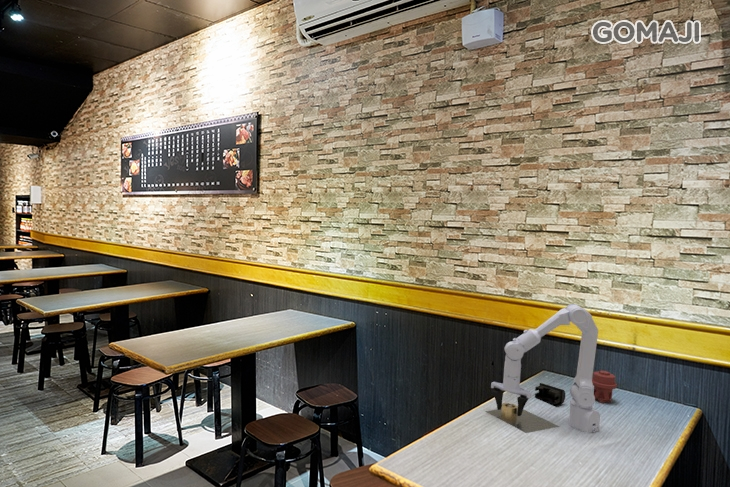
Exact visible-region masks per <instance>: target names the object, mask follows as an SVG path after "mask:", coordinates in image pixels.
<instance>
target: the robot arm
mask: <svg viewBox="0 0 730 487" xmlns="http://www.w3.org/2000/svg"><path fill="white" fill-rule="evenodd" d="M571 323H572V324H573V325H575V326H576V327H577V329H579V331H580V332H581V335H580V344H579V352H578V360H577V368H576V374H575V377H574V378H573V383H572V384H571V385H570V388H569V394H570V396H571V397H572V398H571V400H570V404H569V413H568V414H569V418H568V425H569V426H570V427H571V428H574V429H577V430H579V431H582V432H584V433H586V434H590V433H596V432H599V431H600V423H601V415H600V413H599V411H598V410H596V409H594V404H595V402H596V398H595V396H594V386H593V383H592V378H593V373H594V367H595V359H596V358H595V357H596V351H597V346H598V345H597V344H598V343H597V342H598V335H599V328H598V327H597V325H596V323H595V321H594V319H593V315H592V314H591V313H590V312H588V310H587V309H585V308H583V307H581V306H580V305H579V304H576V303H570V304H568V305H566V307H563V308H561V309H559V311H557V312H556V313H555V314H554V315H552V316H550V318H548V319H547V320H545V321H544V322H543V323H542V324H540V325H539V326H537V328H535V329H532V328H529V329H524V330H523V333H522V334H521V335H519V336H518V337H514V338H512V341H509V342H507V343H506V344H505V346H504V348H503V349H504V352H505V356H504V366H503V367H504V368H503V381H502V383H501V382H497V381H493V382H491V384H490V388H491V389H492V391H491V393H492V395H493V397H494V400H495V403H496V408H497V409H496V410H500V409H502V404H503V398H504V392H507V393H511V394H515V395H518V396H517V398H516V400H517V406H518V412H517V416H521V415H522V411H523V409H524V408H525V406H526V404H527V402H528V401H529V399H531V398H532V391H529V390H527V389H525V388H522V387H520V384H521V371H522V369H521V368H522V363H521V362H522V358H523V357H524V354H525V353H527V352H528V351H530V350H531V349H532V348H534V347H535V346H537V345H538V344H540V343H541V339H542V338H543V337H544V336H545V335H547V334H548V333H550V332H551V331H553V330H555V329H556V328H558V327H559V326H571Z"/></svg>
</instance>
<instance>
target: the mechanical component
mask: <svg viewBox="0 0 730 487" xmlns="http://www.w3.org/2000/svg"><path fill="white" fill-rule="evenodd" d="M592 383H593V394H594V396H595V400H598V403H601V404H603V403H611V402H612V399H613V390H615V389H616V388H618V383H617V382H616V375H614V374H613V373H610V372H609V371H606V370H599V371H593V375H592Z"/></svg>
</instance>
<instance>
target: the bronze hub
mask: <svg viewBox="0 0 730 487" xmlns="http://www.w3.org/2000/svg"><path fill="white" fill-rule="evenodd" d="M507 405H512V408H511V407H507ZM517 409H518V405H516V404H514V403H510V402H505V403H503V402H502V412H501V416H502V417H504V418H506V419H510V420H513V419H516V418H517Z"/></svg>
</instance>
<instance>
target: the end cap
mask: <svg viewBox="0 0 730 487" xmlns="http://www.w3.org/2000/svg"><path fill="white" fill-rule="evenodd" d="M534 390H535V392H536V393H534V398H535V399H536V400H539V401H541V402H543V403H545V404H548V405H551V406H553V407H555V408H558V407H561V406H562V405H563V404H564V402H565V400H566V391H565V390H564V389H562V388H559V387H555V386H552V385H550V384H545V383H543V382H540V383H539V385H537V386H535V388H534ZM537 391H538V392H537Z"/></svg>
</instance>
